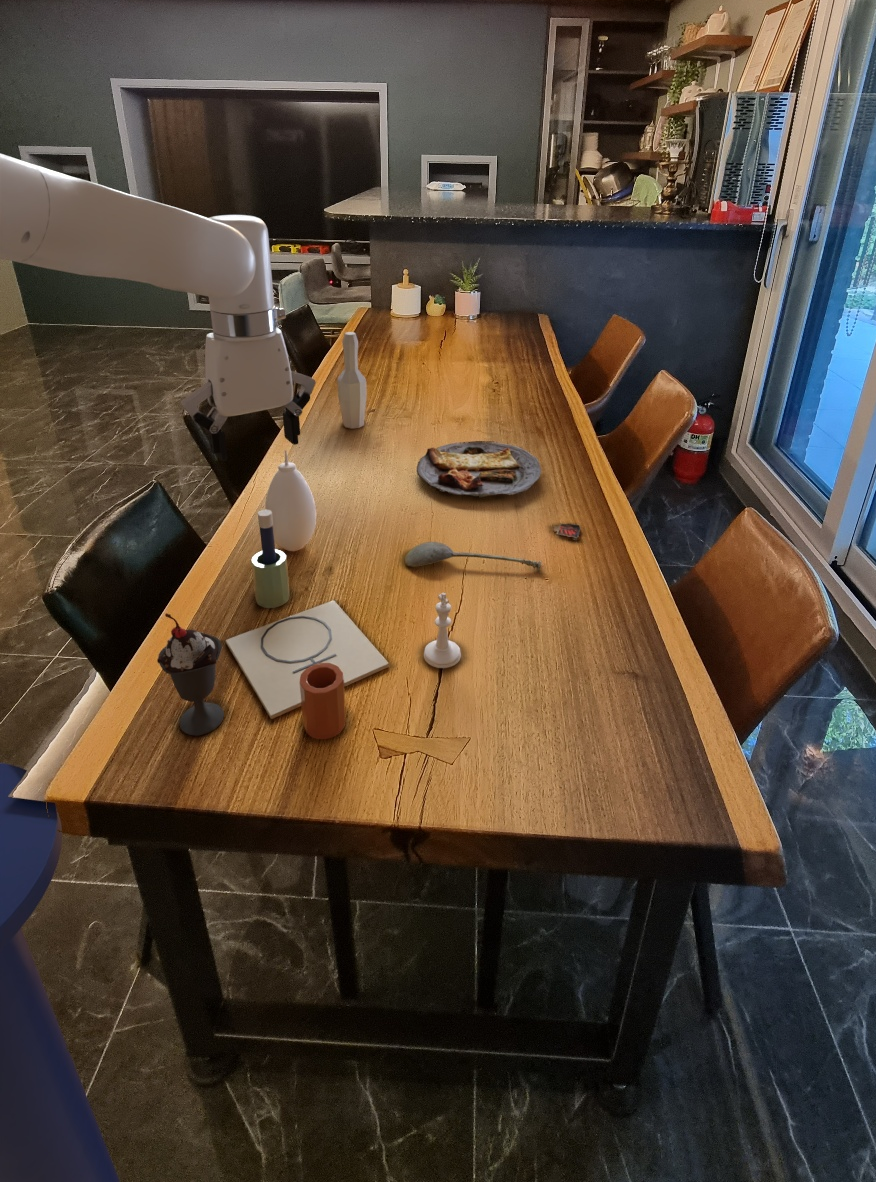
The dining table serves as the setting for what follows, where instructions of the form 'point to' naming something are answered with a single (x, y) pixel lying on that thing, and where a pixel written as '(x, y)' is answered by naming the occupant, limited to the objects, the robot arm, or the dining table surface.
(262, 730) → the dining table surface
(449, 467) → the food plate
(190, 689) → the sundae
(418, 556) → the soupspoon
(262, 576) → the pen cup
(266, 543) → the marker
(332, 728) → the pen pot
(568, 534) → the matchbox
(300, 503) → the sauce bottle
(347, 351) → the low poly bottle
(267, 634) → the sketch pad
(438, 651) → the chess piece
